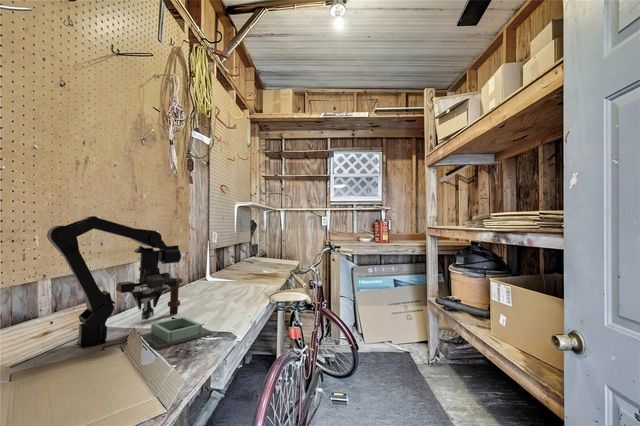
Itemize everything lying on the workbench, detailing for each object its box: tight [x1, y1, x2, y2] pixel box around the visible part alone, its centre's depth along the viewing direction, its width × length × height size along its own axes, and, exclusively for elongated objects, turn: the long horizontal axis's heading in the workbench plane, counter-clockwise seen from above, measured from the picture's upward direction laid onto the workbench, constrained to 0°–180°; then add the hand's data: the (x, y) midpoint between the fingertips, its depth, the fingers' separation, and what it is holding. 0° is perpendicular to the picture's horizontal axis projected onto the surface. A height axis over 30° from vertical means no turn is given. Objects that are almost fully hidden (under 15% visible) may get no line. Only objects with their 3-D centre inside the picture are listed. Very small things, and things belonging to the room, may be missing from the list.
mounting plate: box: [139, 326, 212, 350], centre depth 104 cm, size 18×14×1 cm
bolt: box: [167, 277, 183, 316], centre depth 130 cm, size 6×5×15 cm
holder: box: [150, 316, 203, 343], centre depth 104 cm, size 11×13×3 cm
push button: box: [141, 288, 156, 321], centre depth 109 cm, size 7×5×10 cm
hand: (147, 308), depth 109 cm, fingers closed on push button, 4 cm apart
